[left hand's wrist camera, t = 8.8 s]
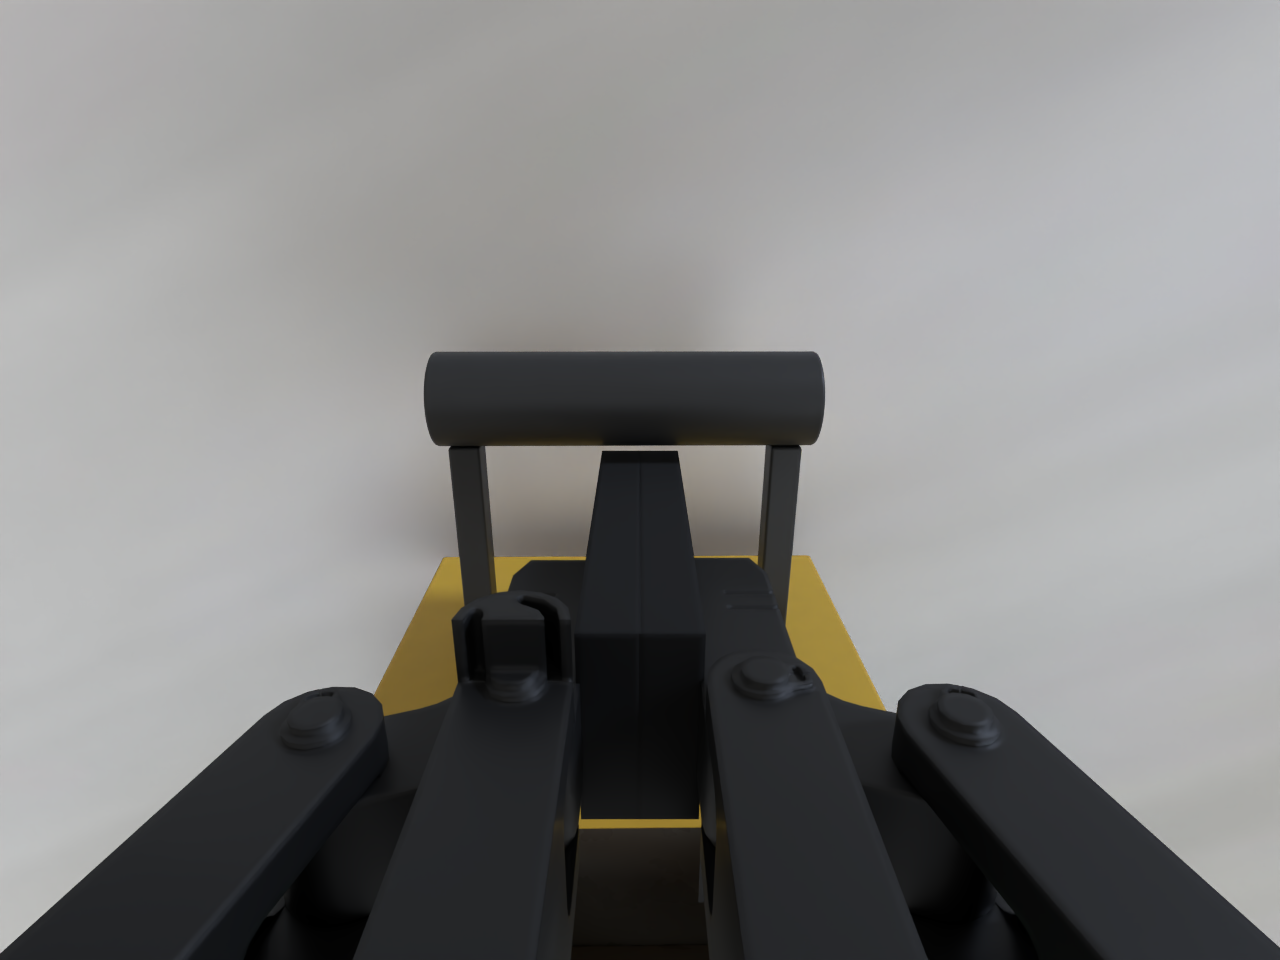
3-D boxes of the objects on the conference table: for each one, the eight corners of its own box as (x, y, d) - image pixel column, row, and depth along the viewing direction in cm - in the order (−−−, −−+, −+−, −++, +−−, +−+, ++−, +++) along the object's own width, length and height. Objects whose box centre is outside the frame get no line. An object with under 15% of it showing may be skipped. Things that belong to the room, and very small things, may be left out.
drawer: (416, 319, 17) (255, 417, 10) (833, 319, 17) (986, 415, 10) (484, 928, 24) (422, 1241, 17) (772, 925, 25) (833, 1234, 17)
